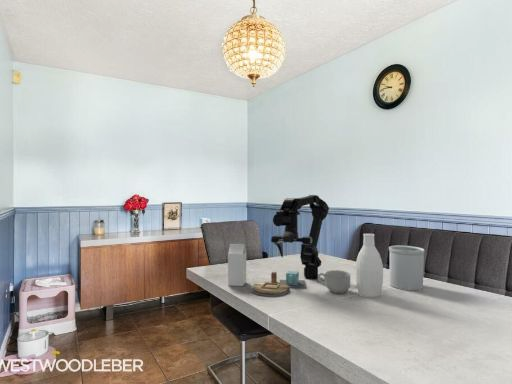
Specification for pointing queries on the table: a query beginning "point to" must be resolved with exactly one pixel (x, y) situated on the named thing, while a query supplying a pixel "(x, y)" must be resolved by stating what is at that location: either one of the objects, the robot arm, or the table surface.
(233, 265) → the milk carton
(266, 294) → the turntable base
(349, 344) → the table surface
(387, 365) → the table surface
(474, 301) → the table surface
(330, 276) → the teacup
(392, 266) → the utensil holder
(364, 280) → the bottle
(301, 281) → the mat
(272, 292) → the turntable
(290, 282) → the blue cube with post
